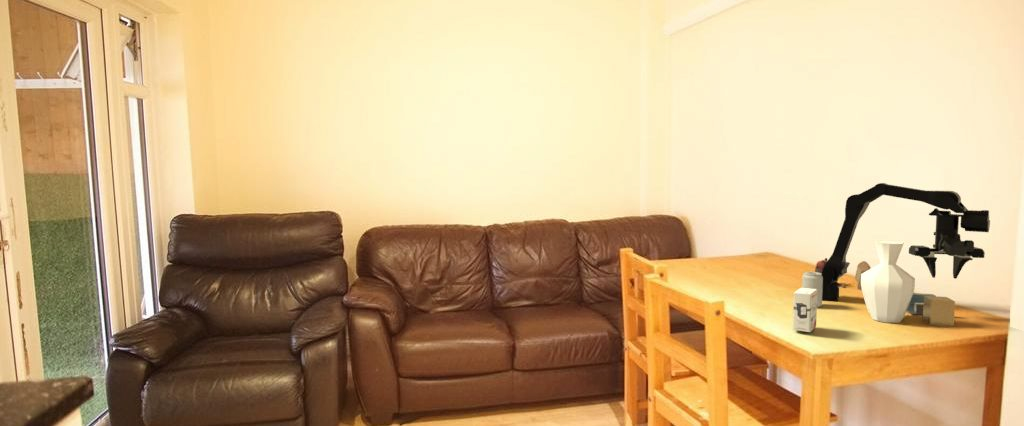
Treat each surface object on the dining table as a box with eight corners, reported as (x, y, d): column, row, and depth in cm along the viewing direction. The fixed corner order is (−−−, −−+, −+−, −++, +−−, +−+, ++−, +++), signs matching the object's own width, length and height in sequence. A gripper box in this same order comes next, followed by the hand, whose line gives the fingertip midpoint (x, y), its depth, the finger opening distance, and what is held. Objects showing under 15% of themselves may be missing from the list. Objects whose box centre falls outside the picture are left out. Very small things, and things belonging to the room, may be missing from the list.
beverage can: (819, 304, 196) (820, 271, 195) (823, 309, 190) (824, 274, 189) (799, 303, 198) (800, 270, 197) (803, 307, 192) (804, 273, 191)
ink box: (799, 323, 173) (800, 286, 172) (816, 326, 170) (818, 288, 169) (792, 329, 166) (793, 291, 165) (810, 332, 163) (811, 293, 162)
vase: (914, 328, 167) (918, 246, 165) (859, 321, 174) (862, 243, 172) (910, 317, 179) (914, 241, 177) (859, 311, 186) (862, 238, 184)
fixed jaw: (916, 313, 180) (916, 304, 180) (913, 312, 182) (914, 302, 182) (952, 316, 177) (953, 306, 177) (950, 314, 179) (950, 304, 179)
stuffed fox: (846, 291, 216) (847, 261, 215) (814, 288, 222) (815, 259, 221) (846, 288, 223) (847, 258, 222) (814, 285, 228) (815, 256, 228)
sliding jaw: (876, 301, 196) (877, 292, 196) (874, 300, 198) (875, 291, 198) (935, 305, 190) (935, 295, 190) (932, 303, 193) (932, 294, 192)
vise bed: (912, 315, 181) (912, 313, 181) (896, 304, 196) (896, 302, 196) (952, 318, 177) (952, 316, 177) (932, 306, 192) (932, 304, 192)
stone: (856, 292, 216) (867, 294, 214) (862, 269, 214) (873, 271, 212) (853, 280, 232) (863, 282, 230) (858, 259, 230) (869, 261, 228)
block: (930, 325, 169) (931, 300, 169) (922, 320, 175) (923, 295, 174) (953, 327, 167) (954, 301, 167) (945, 321, 173) (946, 297, 173)
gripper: (924, 232, 171) (921, 281, 172) (996, 233, 166) (993, 284, 167) (909, 228, 182) (906, 274, 183) (976, 229, 177) (973, 277, 178)
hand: (944, 277), depth 178 cm, fingers open, 5 cm apart
